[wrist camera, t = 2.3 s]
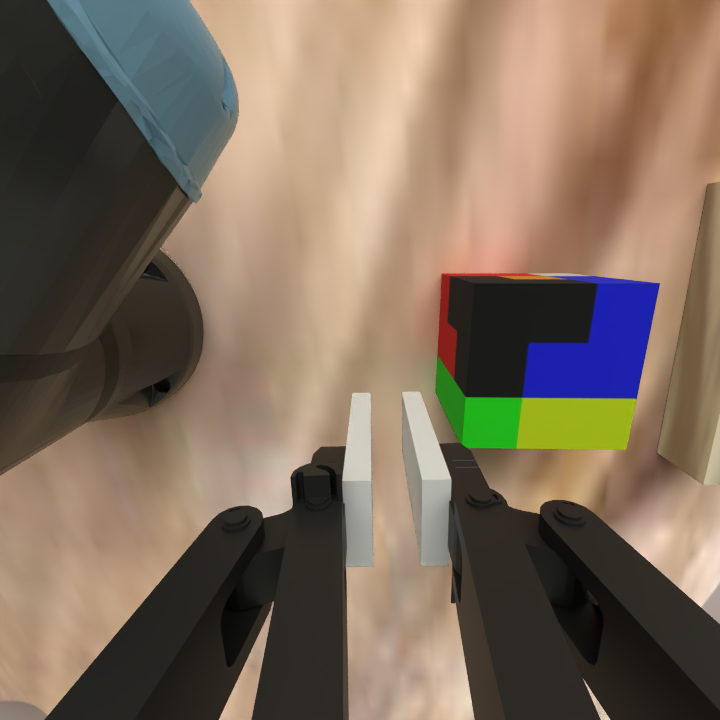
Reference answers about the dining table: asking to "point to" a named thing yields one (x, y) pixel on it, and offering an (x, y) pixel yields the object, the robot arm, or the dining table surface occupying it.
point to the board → (698, 361)
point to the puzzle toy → (542, 358)
